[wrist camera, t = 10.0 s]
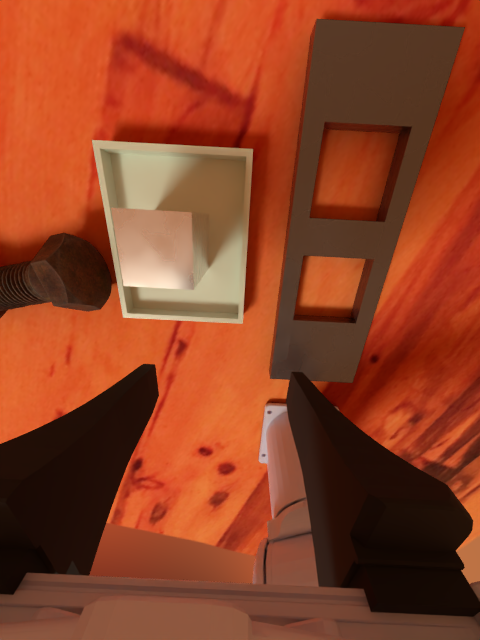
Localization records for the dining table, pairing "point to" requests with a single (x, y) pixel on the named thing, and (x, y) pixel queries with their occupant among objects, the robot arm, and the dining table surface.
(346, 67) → the metal plate with holes
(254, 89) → the dining table surface
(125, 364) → the dining table surface
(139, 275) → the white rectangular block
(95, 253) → the bolt
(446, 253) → the dining table surface
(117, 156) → the tray
